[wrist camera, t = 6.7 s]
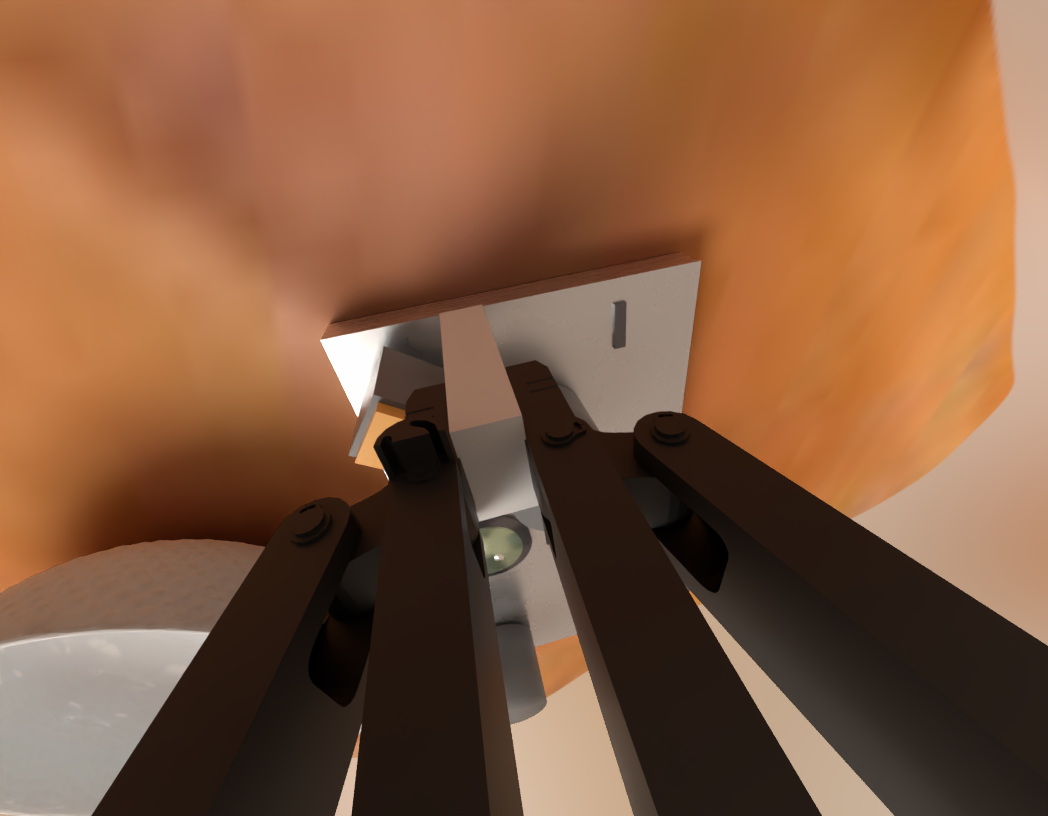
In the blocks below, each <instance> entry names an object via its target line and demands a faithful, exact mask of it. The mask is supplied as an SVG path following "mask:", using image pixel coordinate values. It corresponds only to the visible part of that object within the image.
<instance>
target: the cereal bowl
mask: <svg viewBox="0 0 1048 816" xmlns="http://www.w3.org/2000/svg"><path fill="white" fill-rule="evenodd" d="M264 548H265V547H264V546H256V545H252V544H246V543H243V542H230V541H221V540H211V539H202V540H201V539H198V540H195V539H181V540H173V541H171V540H158V541H154V542H141V543H138V544H133V545H122V546H117V547H115V548H112V549H109V550H105V551H99V552H95V553H93V554H90V555H87V556H81V557H77V558H75V559H72V560H70V561H68V562H66V563H63V564H59V565H56V566H54V567H52V568H50V569H48V570H46V571H44V572H41V573H39V574H36V575H33V576H30V577H29V578H27V579H25V580H24V581H22V582H20V583H18V584H16V585H14V586H12V587H9V588H8V589H6V590H5V591H3V592H2V593H0V814H9V815H21V816H91V815H92V814H93V812H94V811H95V809H96V808H97V806H98V804H99V803H100V801H101V800H102V798H103V797H104V795H105V794H106V792H107V791H108V789H109V787H110V786H111V784H112V783H113V781H114V780H115V778H116V777H117V775H118V774H119V772H120V771H121V769H122V767H123V766H124V764H125V763H126V761H127V760H128V758H129V757H130V755H131V754H132V752H133V750H134V749H135V747H136V746H137V744H138V743H139V741H140V740H141V738H142V737H143V735H144V733H145V732H146V730H147V729H148V727H149V726H150V724H151V723H152V721H153V720H154V718H155V717H156V715H157V713H158V712H159V710H160V709H161V707H162V706H163V704H164V703H165V701H166V700H167V698H168V696H169V695H170V693H171V692H172V690H173V689H174V687H175V686H176V684H177V683H178V681H179V680H180V678H181V676H182V675H183V673H184V672H185V670H186V669H187V667H188V666H189V664H190V663H191V661H192V659H193V658H194V656H195V655H196V653H197V652H198V650H199V649H200V647H201V646H202V644H203V643H204V641H205V639H206V638H207V636H208V635H209V633H210V632H211V630H212V629H213V627H214V626H215V624H216V622H217V621H218V619H219V618H220V616H221V615H222V613H223V612H224V610H225V609H226V607H227V606H228V604H229V602H230V601H231V599H232V598H233V596H234V595H235V593H236V592H237V590H238V589H239V587H240V585H241V584H242V582H243V581H244V579H245V578H246V576H247V575H248V573H249V572H250V570H251V569H252V567H253V565H254V564H255V562H256V561H257V559H258V558H259V556H260V555H261V553H262V552H263V550H264ZM361 726H362V724H361ZM360 732H361V728H360V731H359V733H360ZM358 735H359V734H358Z"/></svg>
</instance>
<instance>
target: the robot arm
mask: <svg viewBox="0 0 1048 816" xmlns="http://www.w3.org/2000/svg"><path fill="white" fill-rule="evenodd" d="M439 315H440V327H441V339H442V350H443V362H444V374H445V383H441V384H437V385H433V386H428V387H424V388H420V389H415V390H414V391H413V392H412V394H411V395H410V397H409V398H408V400H407V401H406V409H405V414H406V416H405V420H402V421H399V422H397V423H395V424H393V425H392V426H390V427H388V428H387V429H385V430H384V431H383V432H382V433H381V434H380V435H379V436H378V438H377V439H376V442H375V444H374V446H373V448H374V450H375V452H376V454H377V456H378V458H379V460H380V462H381V464H382V466H383V468H384V470H385V472H386V474H387V476H388V478H389V482H388V485H387V486H386V487H385V488H383V489H382V490H381V491H379V492H377V493H376V494H374V495H372V496H371V497H369V498H367V499H365V500H363V501H361V502H359V503H357V504H355V505H353V506H351V507H349V505H348V504H347V503H346V502H344V501H343V500H341V499H340V498H331V497H327V498H323V499H318V500H314V501H312V502H310V503H308V504H306V505H304V506H302V507H300V508H299V509H297V510H296V511H295V512H293V513H292V514H291V515H289V516H288V517H287V518H286V519H285V520H284V522H283V523H282V524H281V525H280V526H279V527H278V529H277V530H276V532H275V533H274V535H273V536H272V538H271V539H270V541H269V542H268V544H267V545H266V547H265V548H264V550H263V552H262V553H261V555H260V556H259V558H258V559H257V561H256V562H255V564H254V565H253V567H252V569H251V570H250V572H249V573H248V575H247V576H246V578H245V579H244V581H243V582H242V584H241V585H240V587H239V589H238V590H237V592H236V593H235V595H234V596H233V598H232V599H231V601H230V602H229V604H228V606H227V607H226V609H225V610H224V612H223V613H222V615H221V616H220V618H219V619H218V621H217V622H216V624H215V626H214V627H213V629H212V630H211V632H210V633H209V635H208V636H207V638H206V639H205V641H204V643H203V644H202V646H201V647H200V649H199V650H198V652H197V653H196V655H195V656H194V658H193V659H192V661H191V663H190V664H189V666H188V667H187V669H186V670H185V672H184V673H183V675H182V676H181V678H180V680H179V681H178V683H177V684H176V686H175V687H174V689H173V690H172V692H171V693H170V695H169V696H168V698H167V700H166V701H165V703H164V704H163V706H162V707H161V709H160V710H159V712H158V713H157V715H156V717H155V718H154V720H153V721H152V723H151V724H150V726H149V727H148V729H147V730H146V732H145V733H144V735H143V737H142V738H141V740H140V741H139V743H138V744H137V746H136V747H135V749H134V750H133V752H132V754H131V755H130V757H129V758H128V760H127V761H126V763H125V764H124V766H123V767H122V769H121V771H120V772H119V774H118V775H117V777H116V778H115V780H114V781H113V783H112V784H111V786H110V787H109V789H108V791H107V792H106V794H105V795H104V797H103V798H102V800H101V801H100V803H99V804H98V806H97V808H96V809H95V811H94V812H93V814H92V815H91V816H335V813H336V809H337V806H338V802H339V799H340V796H341V792H342V789H343V785H344V782H345V779H346V775H347V772H348V768H349V765H350V762H351V758H352V755H353V751H354V748H355V745H356V741H357V738H358V734H359V731H360V728H361V735H360V744H359V753H358V762H357V771H356V780H355V789H354V798H353V807H352V816H523V808H522V802H521V795H520V788H519V781H518V774H517V768H516V761H515V754H514V747H513V740H512V734H511V727H510V720H509V713H508V706H507V699H506V693H505V686H504V679H503V672H502V665H501V659H500V652H499V645H498V638H497V631H496V625H495V618H494V611H493V604H492V597H491V591H490V584H489V577H488V570H487V563H486V557H485V550H484V543H483V539H482V536H481V533H480V531H479V527H478V520H477V517H478V519H479V521H483V520H487V519H491V518H494V517H498V516H502V515H505V514H509V513H513V512H517V511H520V510H524V509H528V508H531V507H535V506H538V504H539V507H540V510H541V516H542V521H543V527H544V532H545V538H546V543H547V545H550V548H551V552H552V555H553V558H554V561H555V565H556V568H557V571H558V574H559V577H560V581H561V584H562V587H563V590H564V593H565V597H566V600H567V603H568V606H569V609H570V613H571V616H572V619H573V622H574V625H575V629H576V632H577V635H578V638H579V641H580V645H581V648H582V651H583V654H584V657H585V661H586V664H587V667H588V670H589V673H590V677H591V680H592V683H593V686H594V689H595V693H596V696H597V699H598V702H599V705H600V708H601V712H602V715H603V718H604V721H605V725H606V728H607V731H608V734H609V737H610V741H611V744H612V747H613V750H614V753H615V756H616V760H617V763H618V766H619V769H620V773H621V776H622V779H623V782H624V785H625V788H626V792H627V795H628V798H629V801H630V805H631V807H632V811H633V814H634V816H822V815H821V813H820V812H819V810H818V808H817V807H816V805H815V803H814V802H813V800H812V798H811V796H810V795H809V793H808V792H807V790H806V788H805V786H804V785H803V783H802V781H801V780H800V778H799V776H798V775H797V773H796V771H795V770H794V768H793V766H792V765H791V763H790V761H789V759H788V758H787V756H786V754H785V753H784V751H783V749H782V748H781V746H780V745H779V743H778V741H777V739H776V738H775V736H774V735H773V733H772V731H771V729H770V727H769V726H768V724H767V723H766V721H765V719H764V717H763V716H762V714H761V712H760V711H759V709H758V708H757V706H756V704H755V702H754V701H753V699H752V697H751V695H750V694H749V692H748V691H747V689H746V687H745V686H744V684H743V682H742V681H741V679H740V677H739V675H738V674H737V672H736V670H735V669H734V667H733V665H732V664H731V662H730V660H729V658H728V657H727V655H726V654H725V652H724V650H723V648H722V647H721V645H720V643H719V642H718V640H717V638H716V637H715V635H714V633H713V632H712V630H711V628H710V627H709V625H708V623H707V622H706V620H705V618H704V617H703V615H702V613H701V611H700V610H699V608H698V606H697V605H696V603H695V601H694V600H693V598H692V596H691V594H690V593H689V591H688V589H689V590H690V591H691V592H692V593H693V594H694V595H695V596H696V597H697V598H698V600H699V601H700V602H701V603H702V604H703V605H704V606H705V607H706V608H707V609H708V611H709V612H710V613H711V614H712V615H713V616H714V617H715V618H716V619H717V620H718V621H719V623H720V624H721V625H722V626H723V627H724V628H725V629H726V630H727V632H728V633H729V634H731V636H732V637H733V638H734V639H735V640H736V641H737V643H738V644H739V645H740V646H741V647H742V648H743V649H744V650H745V651H746V652H747V653H748V655H749V656H750V657H751V658H752V659H753V660H754V661H755V662H756V663H757V665H758V666H759V667H760V668H761V669H762V670H763V671H764V672H765V673H766V674H767V675H768V676H769V678H770V679H771V680H772V681H773V682H774V683H775V684H776V686H777V687H779V689H780V690H781V691H782V692H783V693H784V694H785V695H786V697H787V698H788V699H789V700H790V701H791V702H792V703H793V704H794V705H795V706H796V707H797V709H798V710H799V711H800V712H801V713H802V714H803V715H804V716H805V717H806V718H807V720H809V722H810V723H811V724H812V725H813V726H814V727H815V728H816V730H817V731H818V732H819V733H820V734H821V735H822V736H823V737H824V738H825V739H826V741H827V742H828V743H829V744H830V745H831V746H832V747H833V748H834V749H835V751H837V753H838V754H839V755H840V756H841V757H842V758H843V759H844V760H845V762H846V763H847V764H848V765H849V766H850V767H851V768H852V769H853V770H854V771H855V773H856V774H857V775H858V776H859V777H860V778H861V779H862V780H863V781H864V782H865V784H866V785H867V786H868V787H869V788H870V789H871V790H872V791H873V792H874V794H875V795H877V797H878V798H879V799H880V800H881V801H882V802H883V803H884V805H885V806H886V807H887V808H888V809H889V810H890V811H891V812H892V813H893V814H894V816H1048V646H1047V645H1046V644H1044V643H1042V642H1041V641H1039V640H1038V639H1036V638H1035V637H1033V636H1032V635H1030V634H1028V633H1027V632H1025V631H1024V630H1022V629H1021V628H1019V627H1018V626H1016V625H1015V624H1013V623H1011V622H1010V621H1008V620H1007V619H1005V618H1004V617H1002V616H1001V615H999V614H997V613H996V612H994V611H993V610H991V609H990V608H988V607H986V606H985V605H983V604H982V603H980V602H978V601H977V600H976V599H974V598H973V597H971V596H970V595H968V594H966V593H965V592H963V591H962V590H960V589H959V588H957V587H955V586H954V585H952V584H951V583H949V582H948V581H946V580H945V579H943V578H942V577H940V576H938V575H937V574H935V573H934V572H932V571H931V570H929V569H928V568H926V567H925V566H923V565H921V564H920V563H918V562H917V561H915V560H914V559H912V558H910V557H909V556H907V555H906V554H904V553H903V552H901V551H900V550H898V549H897V548H895V547H893V546H892V545H890V544H889V543H887V542H886V541H884V540H883V539H881V538H879V537H878V536H876V535H875V534H873V533H872V532H870V531H869V530H867V529H865V528H864V527H862V526H861V525H859V524H858V523H856V522H854V521H853V520H852V519H850V518H848V517H847V516H845V515H844V514H842V513H841V512H839V511H838V510H836V509H834V508H833V507H831V506H830V505H828V504H827V503H825V502H824V501H822V500H821V499H819V498H817V497H816V496H814V495H813V494H811V493H810V492H808V491H807V490H805V489H803V488H802V487H800V486H799V485H797V484H796V483H794V482H793V481H791V480H789V479H788V478H786V477H785V476H783V475H782V474H780V473H779V472H777V471H776V470H774V469H772V468H771V467H769V466H768V465H766V464H765V463H763V462H762V461H760V460H758V459H757V458H755V457H754V456H752V455H751V454H749V453H748V452H746V451H744V450H743V449H741V448H740V447H738V446H737V445H735V444H734V443H732V442H730V441H729V440H727V439H726V438H724V437H723V436H721V435H720V434H718V433H717V432H715V431H713V430H712V429H710V428H709V427H707V426H706V425H704V424H703V423H701V422H699V421H698V420H696V419H694V418H692V417H690V416H688V415H686V414H683V413H678V412H672V411H660V412H654V413H651V414H647V415H645V416H644V417H642V418H641V419H639V420H638V421H637V423H636V425H635V427H634V432H617V433H612V432H601V431H596V430H593V429H592V428H591V426H590V425H589V424H588V423H587V422H586V421H585V420H582V419H580V418H578V417H575V415H574V413H573V412H572V410H571V408H570V406H569V404H568V403H567V401H566V399H565V397H564V395H563V394H562V392H561V390H560V388H559V387H558V385H557V383H556V381H555V379H553V376H552V374H551V372H550V370H549V369H548V367H547V366H545V365H543V364H542V363H540V362H538V361H537V360H534V361H529V362H525V363H521V364H517V365H512V366H508V367H504V364H503V362H502V359H501V356H500V353H499V351H498V348H497V345H496V342H495V340H494V337H493V334H492V331H491V328H490V326H489V323H488V320H487V317H486V315H485V312H484V309H483V306H482V304H481V305H477V306H472V307H467V308H463V309H458V310H454V311H449V312H444V313H440V314H439ZM685 585H686V586H687V587H688V589H687V588H686V586H685ZM361 724H362V726H361Z"/></svg>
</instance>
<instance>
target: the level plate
mask: <svg viewBox="0 0 1048 816" xmlns="http://www.w3.org/2000/svg"><path fill="white" fill-rule="evenodd" d="M700 269H701V260H699V259H696V258H694V257H691V256H689V255H686V254H683V253H681V252H678V253H673V254H668V255H663V256H659V257H654V258H649V259H644V260H639V261H634V262H629V263H624V264H620V265H615V266H610V267H605V268H600V269H595V270H590V271H585V272H581V273H576V274H571V275H566V276H561V277H556V278H551V279H546V280H542V281H537V282H532V283H527V284H522V285H517V286H512V287H507V288H503V289H498V290H493V291H488V292H483V293H478V294H473V295H468V296H464V297H459V298H454V299H449V300H444V301H439V302H434V303H429V304H425V305H420V306H415V307H410V308H405V309H400V310H395V311H390V312H386V313H381V314H376V315H371V316H366V317H361V318H356V319H351V320H347V321H342V322H337V323H332V324H329V325H328V327H327V329H326V331H325V333H324V334H323V336H322V338H321V342H322V344H323V347H324V349H325V351H326V353H327V355H328V357H329V359H330V361H331V363H332V365H333V367H334V369H335V371H336V373H337V375H338V378H339V380H340V382H341V384H342V386H343V388H344V390H345V392H346V394H347V396H348V398H349V400H350V402H351V404H352V406H353V408H354V411H355V413H356V415H357V417H358V415H359V411H360V407H361V403H362V399H363V396H364V394H365V391H366V389H367V386H368V384H369V381H370V379H371V376H372V374H373V371H374V369H375V366H376V363H377V361H378V358H379V356H380V353H381V351H382V348H383V346H385V347H388V348H391V349H393V350H396V351H399V352H401V353H404V354H407V355H409V356H412V357H415V358H418V359H420V360H423V361H426V362H428V363H431V364H434V365H436V366H439V367H442V368H444V362H443V350H442V339H441V327H440V315H439V314H440V313H444V312H449V311H454V310H458V309H463V308H467V307H472V306H477V305H481V304H482V306H483V309H484V312H485V315H486V317H487V320H488V323H489V326H490V328H491V331H492V334H493V337H494V340H495V342H496V345H497V348H498V351H499V353H500V356H501V359H502V362H503V364H504V367H508V366H512V365H517V364H521V363H525V362H529V361H534V360H537V361H538V362H540V363H542V364H543V365H545V366H547V367H548V369H549V370H550V372H551V374H552V376H553V379H555V381H556V383H557V384H558V385H561V386H564V387H566V388H568V389H570V390H571V391H573V392H574V393H575V394H576V395H577V396H578V398H579V399H580V401H581V402H582V404H583V405H584V407H585V409H586V410H587V412H588V413H589V415H590V416H591V418H592V420H593V421H594V423H595V424H596V426H597V428H598V429H599V431H601V432H612V433H617V432H634V427H635V425H636V423H637V421H638V420H639V419H641V418H642V417H644V416H645V415H647V414H651V413H654V412H660V411H672V412H678V413H682V406H683V399H684V391H685V383H686V376H687V368H688V360H689V353H690V345H691V337H692V330H693V322H694V314H695V307H696V299H697V292H698V284H699V276H700ZM384 472H385V470H384ZM385 475H386V477H387V479H388V481H389V478H388V476H387V474H386V472H385ZM477 520H478V527H479V531H480V533H481V536H482V539H483V543H484V550H485V557H486V563H487V570H488V577H489V584H490V591H491V597H492V604H493V611H494V618H495V625H496V627H497V626H500V625H505V624H521V625H524V626H527V627H528V628H529V629H530V630H531V633H532V637H533V642H534V646H535V647H537V646H540V645H543V644H546V643H550V642H553V641H556V640H560V639H563V638H566V637H569V636H573V635H576V634H577V632H576V629H575V625H574V622H573V619H572V616H571V613H570V609H569V606H568V603H567V600H566V597H565V593H564V590H563V587H562V584H561V581H560V577H559V574H558V571H557V568H556V565H555V561H554V558H553V555H552V552H551V548H550V545H547V543H546V538H545V532H544V531H540V530H536V529H532V528H530V527H527V526H526V525H524V524H523V523H521V522H520V521H519V520H518V519H517V518H516V517H515V515H514V513H509V514H505V515H502V516H498V517H494V518H491V519H487V520H483V521H479V519H478V517H477Z"/></svg>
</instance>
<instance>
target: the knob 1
mask: <svg viewBox="0 0 1048 816" xmlns="http://www.w3.org/2000/svg"><path fill="white" fill-rule="evenodd" d="M441 383H445V374H444V368H442V367H439V366H436V365H434V364H431V363H428V362H426V361H423V360H420V359H418V358H415V357H412V356H409V355H407V354H404V353H401V352H399V351H396V350H393V349H391V348H388V347H385V346H383V348H382V351H381V353H380V356H379V358H378V361H377V363H376V366H375V369H374V371H373V374H372V376H371V379H370V381H369V384H368V386H367V389H366V391H365V394H364V396H363V399H362V403H361V407H360V411H359V415H358V419H357V423H356V427H355V431H354V435H353V439H352V443H351V447H350V451H349V455H348V456H353V457H356V459H355V463H357V464H361V465H365V466H370V467H374V468H378V469H382V470H384V468H383V466H382V464H381V462H380V460H379V458H378V456H377V454H376V452H375V450H374V448H373V446H374V444H375V442H376V439H377V438H378V436H379V435H380V434H381V433H382V432H383V431H384V430H385V429H387V428H388V427H390V426H392V425H393V424H395V423H397V422H399V421H402V420H405V416H406V414H405V409H406V401H407V400H408V398H409V397H410V395H411V394H412V392H413V391H414V390H415V389H420V388H424V387H428V386H433V385H437V384H441ZM557 385H558V384H557ZM558 387H559V388H560V390H561V392H562V394H563V395H564V397H565V399H566V401H567V403H568V404H569V406H570V408H571V410H572V412H573V413H574V415H575V417H578V418H580V419H582V420H585V421H586V422H587V423H588V424H589V425H590V426H591V428H592V429H593V430H596V431H599V429H598V428H597V426H596V424H595V423H594V421H593V420H592V418H591V416H590V415H589V413H588V412H587V410H586V409H585V407H584V405H583V404H582V402H581V401H580V399H579V398H578V396H577V395H576V394H575V393H574V392H573V391H571V390H570V389H568V388H566V387H564V386H561V385H558ZM513 513H514V515H515V517H516V518H517V519H518V520H519V521H520V522H521V523H523V524H524V525H526V526H527V527H530V528H532V529H536V530H540V531H544V527H543V521H542V516H541V510H540V507H539V504H538V506H535V507H531V508H528V509H524V510H520V511H517V512H513Z"/></svg>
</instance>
